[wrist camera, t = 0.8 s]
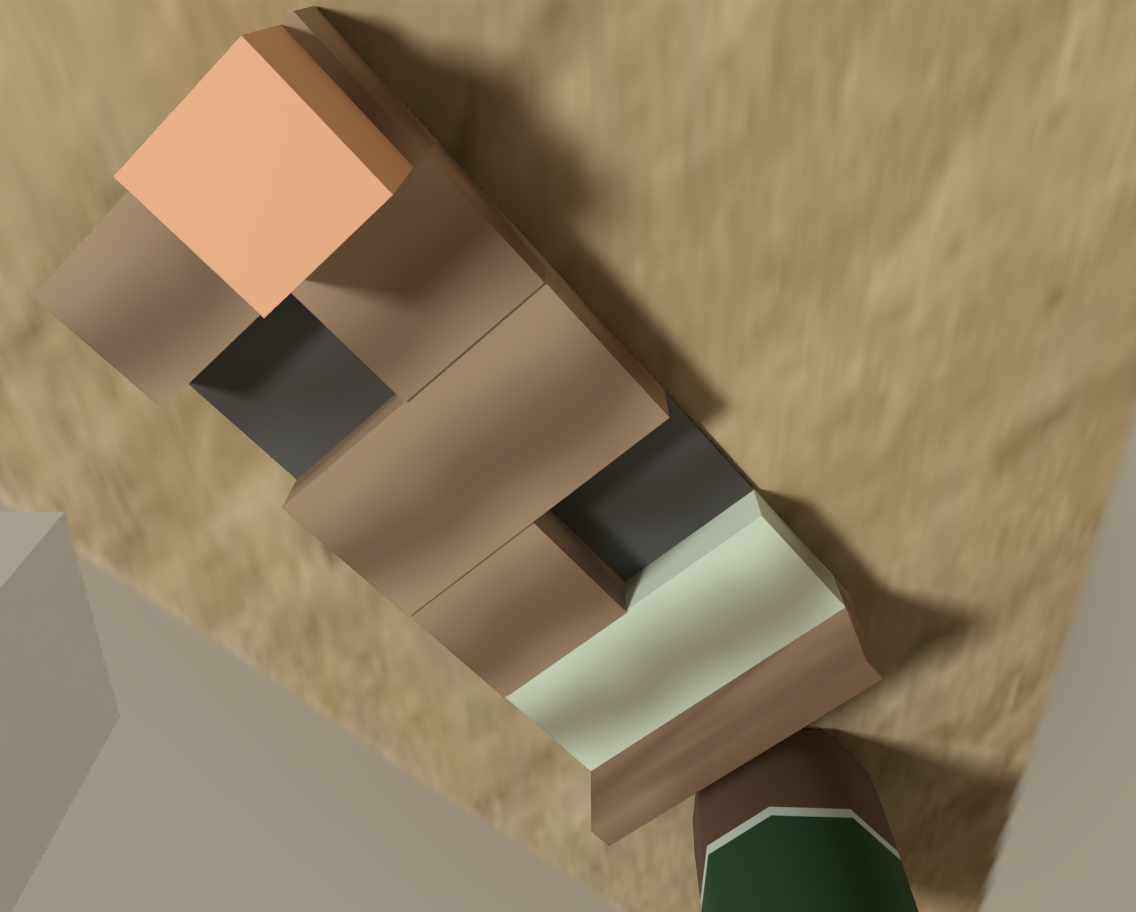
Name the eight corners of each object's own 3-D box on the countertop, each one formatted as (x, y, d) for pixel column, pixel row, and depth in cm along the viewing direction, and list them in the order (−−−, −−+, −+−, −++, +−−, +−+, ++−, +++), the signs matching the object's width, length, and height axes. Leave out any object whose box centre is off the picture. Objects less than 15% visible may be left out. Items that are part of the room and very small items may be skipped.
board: (67, 272, 33) (-14, 325, 28) (314, 5, 29) (265, 17, 25) (606, 749, 42) (609, 845, 37) (848, 592, 38) (883, 678, 34)
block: (164, 150, 29) (113, 176, 26) (281, 24, 27) (241, 35, 24) (296, 279, 30) (264, 318, 27) (413, 167, 29) (392, 194, 26)
